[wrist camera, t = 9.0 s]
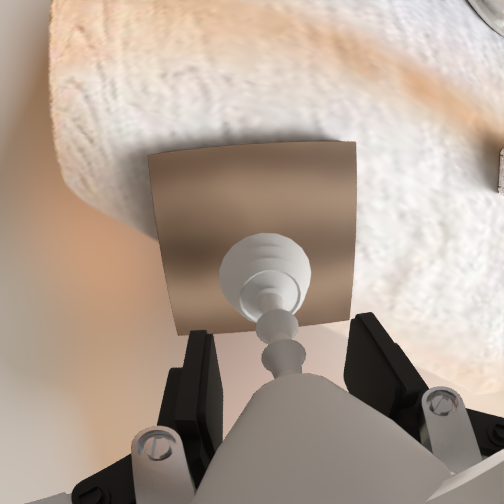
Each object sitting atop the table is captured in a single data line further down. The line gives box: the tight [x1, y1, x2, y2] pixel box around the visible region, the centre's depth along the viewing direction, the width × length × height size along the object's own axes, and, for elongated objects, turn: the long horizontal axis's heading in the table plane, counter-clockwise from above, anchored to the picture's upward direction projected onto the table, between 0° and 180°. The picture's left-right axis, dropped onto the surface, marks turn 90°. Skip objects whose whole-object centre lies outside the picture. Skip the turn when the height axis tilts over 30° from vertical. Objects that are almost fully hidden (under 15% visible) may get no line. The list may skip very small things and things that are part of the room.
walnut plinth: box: [148, 141, 357, 336], centre depth 23 cm, size 14×14×3 cm
